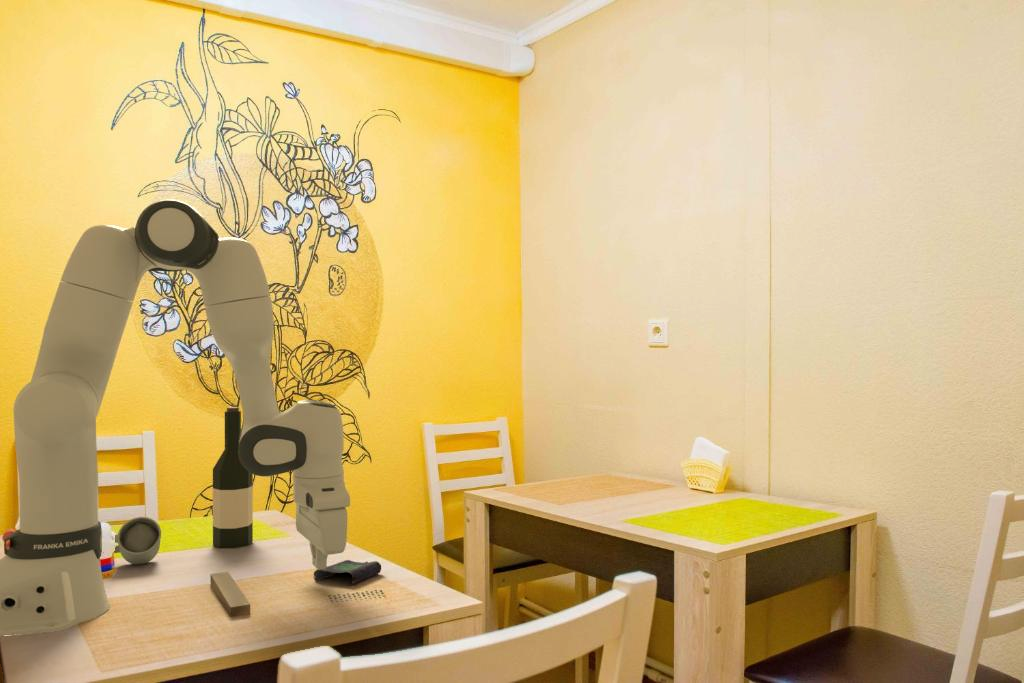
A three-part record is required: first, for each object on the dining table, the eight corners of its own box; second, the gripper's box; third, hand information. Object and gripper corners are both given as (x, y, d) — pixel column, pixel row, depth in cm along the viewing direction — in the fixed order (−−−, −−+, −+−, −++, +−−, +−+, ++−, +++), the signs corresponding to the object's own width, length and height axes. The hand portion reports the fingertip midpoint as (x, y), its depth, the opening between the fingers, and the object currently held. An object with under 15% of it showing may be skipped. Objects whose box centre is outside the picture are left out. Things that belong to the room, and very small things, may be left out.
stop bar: (230, 626, 125) (230, 607, 125) (210, 590, 143) (210, 574, 143) (250, 623, 127) (250, 604, 127) (227, 588, 144) (227, 571, 144)
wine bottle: (211, 540, 177) (211, 406, 177) (250, 536, 181) (250, 405, 180) (214, 549, 170) (214, 409, 169) (255, 545, 173) (254, 408, 173)
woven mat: (384, 599, 140) (384, 587, 140) (396, 619, 130) (396, 606, 130) (323, 606, 136) (323, 594, 136) (332, 627, 126) (332, 614, 126)
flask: (312, 568, 145) (348, 557, 155) (312, 585, 145) (349, 572, 155) (353, 571, 141) (388, 559, 151) (353, 588, 141) (388, 575, 151)
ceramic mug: (150, 571, 159) (167, 536, 164) (149, 559, 153) (167, 522, 158) (96, 555, 158) (115, 519, 162) (94, 542, 151) (113, 505, 156)
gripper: (287, 482, 150) (287, 555, 150) (316, 502, 132) (317, 585, 132) (320, 479, 153) (320, 551, 153) (353, 498, 135) (354, 579, 135)
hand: (319, 567), depth 142 cm, fingers closed
